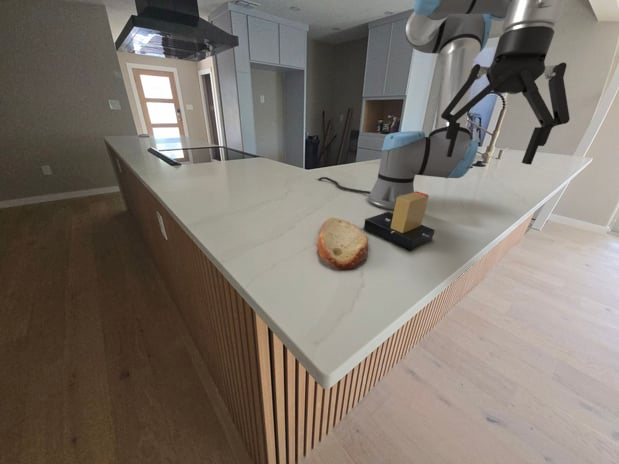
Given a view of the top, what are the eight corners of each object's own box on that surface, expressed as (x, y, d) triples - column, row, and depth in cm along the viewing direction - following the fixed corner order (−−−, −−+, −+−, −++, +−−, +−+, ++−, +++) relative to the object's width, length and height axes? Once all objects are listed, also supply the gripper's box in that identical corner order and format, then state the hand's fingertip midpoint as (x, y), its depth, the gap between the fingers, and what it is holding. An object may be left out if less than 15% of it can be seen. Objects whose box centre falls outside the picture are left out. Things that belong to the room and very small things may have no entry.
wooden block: (402, 233, 60) (410, 200, 56) (390, 228, 62) (397, 196, 59) (420, 225, 65) (429, 194, 61) (408, 221, 67) (416, 190, 63)
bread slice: (334, 221, 72) (335, 209, 70) (391, 246, 60) (394, 232, 59) (284, 240, 61) (284, 226, 59) (342, 275, 49) (344, 259, 47)
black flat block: (360, 230, 68) (362, 219, 66) (388, 220, 75) (390, 210, 73) (411, 255, 57) (414, 242, 56) (438, 241, 64) (441, 229, 63)
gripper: (448, 28, 44) (420, 155, 52) (643, 16, 36) (573, 169, 44) (445, 42, 51) (420, 152, 59) (609, 34, 42) (554, 164, 50)
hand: (485, 160), depth 51 cm, fingers open, 13 cm apart
